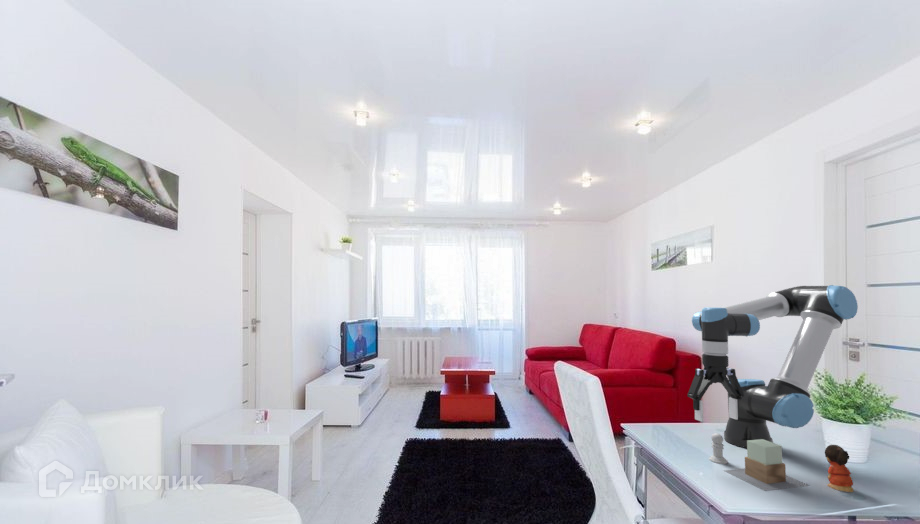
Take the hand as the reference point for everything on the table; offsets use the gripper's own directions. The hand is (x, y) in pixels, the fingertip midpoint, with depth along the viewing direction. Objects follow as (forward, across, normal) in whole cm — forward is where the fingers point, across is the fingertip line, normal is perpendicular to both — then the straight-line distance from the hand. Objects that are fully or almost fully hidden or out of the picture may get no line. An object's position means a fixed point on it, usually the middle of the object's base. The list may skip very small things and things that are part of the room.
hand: (716, 419), depth 142 cm
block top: (+8, -3, +14) cm, 17 cm away
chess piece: (+14, 0, 0) cm, 14 cm away
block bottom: (+13, -3, +14) cm, 19 cm away
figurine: (+14, -18, +24) cm, 33 cm away
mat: (+14, -3, +14) cm, 20 cm away
